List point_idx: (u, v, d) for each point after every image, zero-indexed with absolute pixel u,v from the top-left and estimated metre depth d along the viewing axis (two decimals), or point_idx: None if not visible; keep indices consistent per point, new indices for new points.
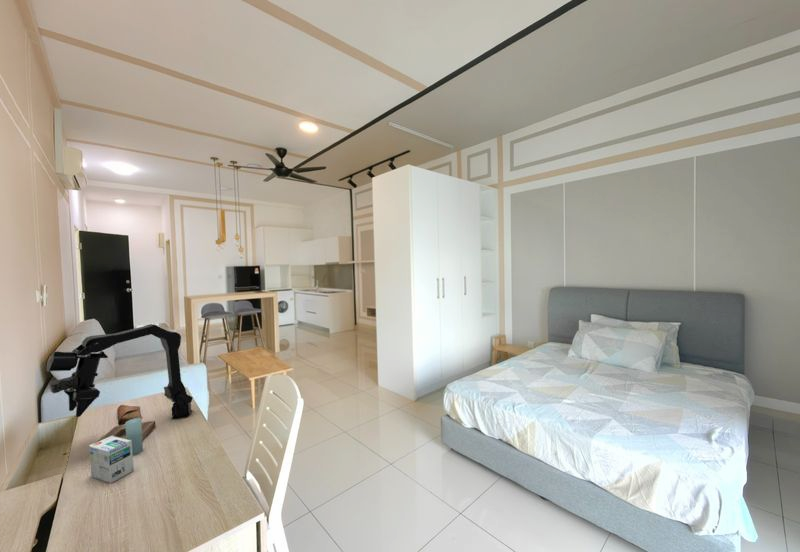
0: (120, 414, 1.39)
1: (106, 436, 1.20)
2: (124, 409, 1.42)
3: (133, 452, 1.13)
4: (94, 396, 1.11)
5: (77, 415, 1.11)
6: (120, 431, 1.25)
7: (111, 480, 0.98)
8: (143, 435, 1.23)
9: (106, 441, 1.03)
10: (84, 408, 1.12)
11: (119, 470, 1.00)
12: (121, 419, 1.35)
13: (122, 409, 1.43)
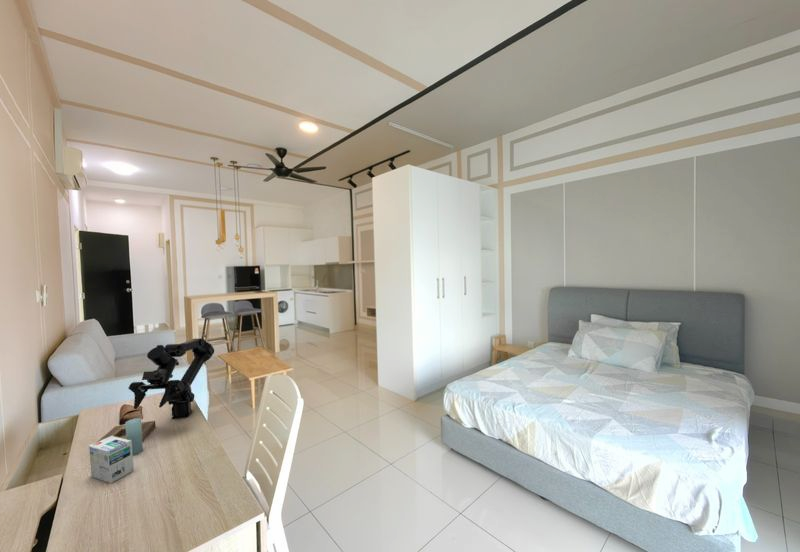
0: (121, 414, 1.39)
1: (106, 436, 1.20)
2: (126, 409, 1.43)
3: (133, 452, 1.13)
4: (182, 389, 1.29)
5: (161, 405, 1.22)
6: (120, 431, 1.25)
7: (111, 480, 0.98)
8: (143, 435, 1.23)
9: (106, 441, 1.03)
10: (167, 400, 1.25)
11: (119, 470, 1.00)
12: (122, 419, 1.36)
13: (124, 409, 1.43)
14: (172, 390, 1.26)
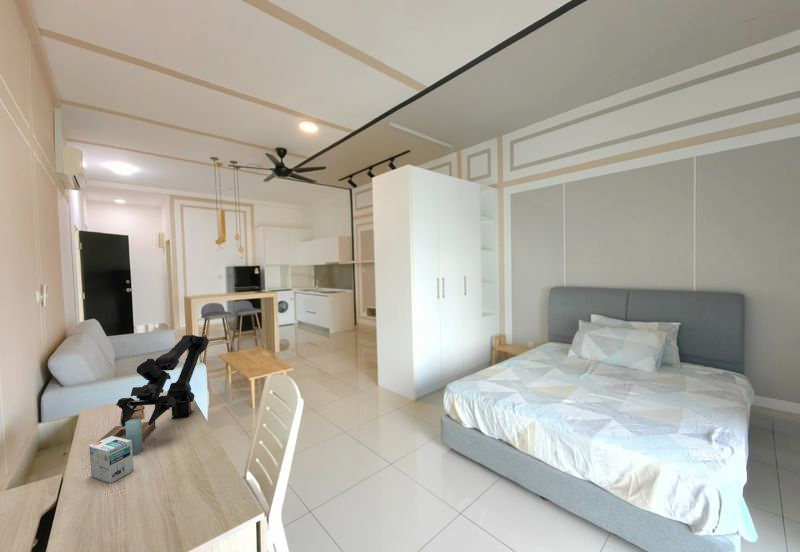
0: None
1: (106, 436, 1.20)
2: None
3: (133, 452, 1.13)
4: (173, 404, 1.23)
5: (150, 422, 1.16)
6: (120, 431, 1.25)
7: (111, 480, 0.98)
8: (143, 435, 1.23)
9: (106, 441, 1.03)
10: (157, 417, 1.18)
11: (119, 470, 1.00)
12: None
13: None
14: (162, 406, 1.20)
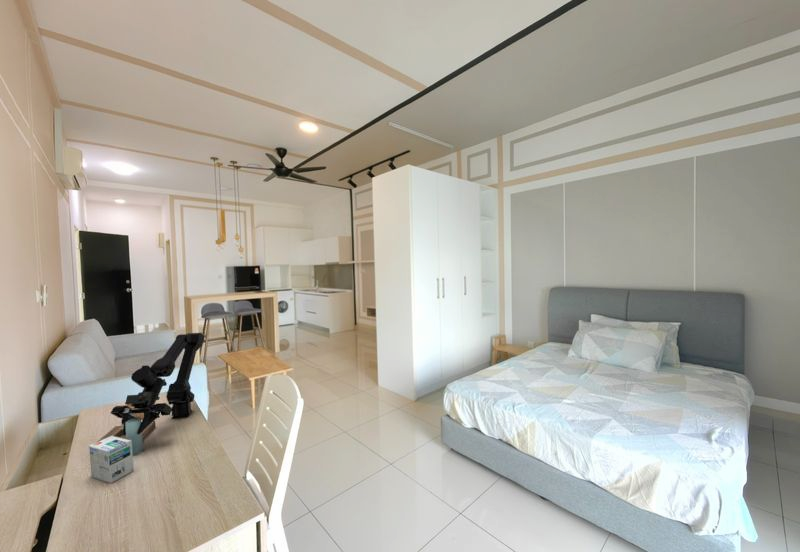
0: None
1: (106, 436, 1.20)
2: None
3: (133, 452, 1.13)
4: (169, 412, 1.20)
5: (139, 432, 1.13)
6: (120, 431, 1.25)
7: (111, 480, 0.98)
8: (143, 435, 1.23)
9: (106, 441, 1.03)
10: (146, 426, 1.16)
11: (119, 470, 1.00)
12: None
13: None
14: (152, 415, 1.17)
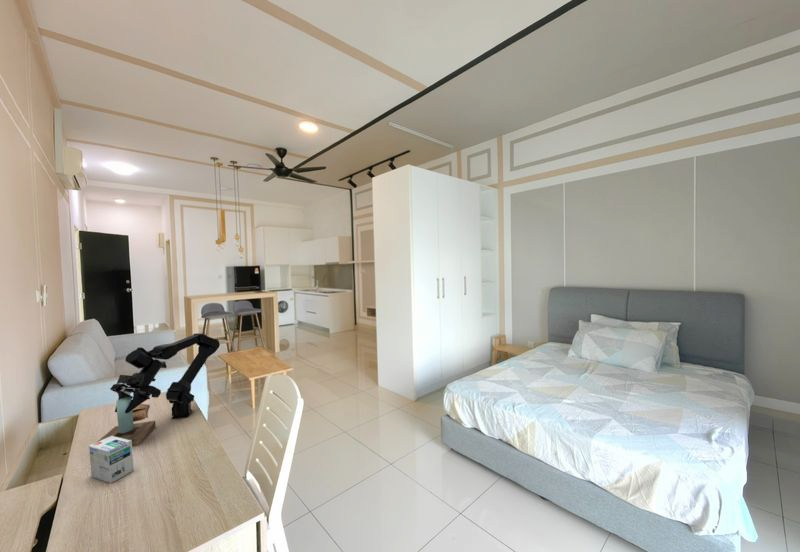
0: None
1: (106, 436, 1.20)
2: None
3: (122, 430, 1.17)
4: (157, 395, 1.22)
5: (127, 411, 1.17)
6: None
7: (111, 480, 0.98)
8: (143, 435, 1.23)
9: (106, 441, 1.03)
10: (135, 406, 1.20)
11: (119, 470, 1.00)
12: None
13: None
14: (141, 396, 1.21)
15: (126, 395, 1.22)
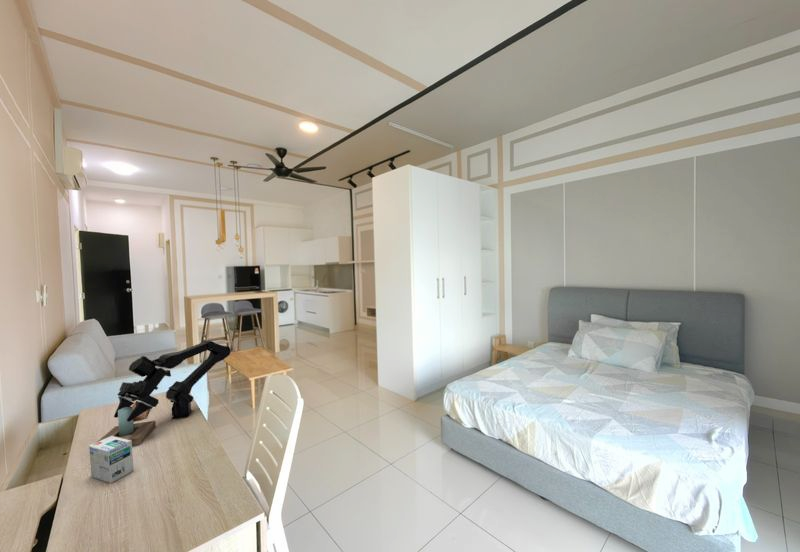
0: None
1: (106, 436, 1.20)
2: (134, 407, 1.44)
3: None
4: (154, 405, 1.24)
5: (128, 419, 1.20)
6: None
7: (111, 480, 0.98)
8: (143, 435, 1.23)
9: (106, 441, 1.03)
10: (137, 414, 1.22)
11: (119, 470, 1.00)
12: None
13: (133, 406, 1.45)
14: (143, 405, 1.23)
15: (126, 401, 1.28)
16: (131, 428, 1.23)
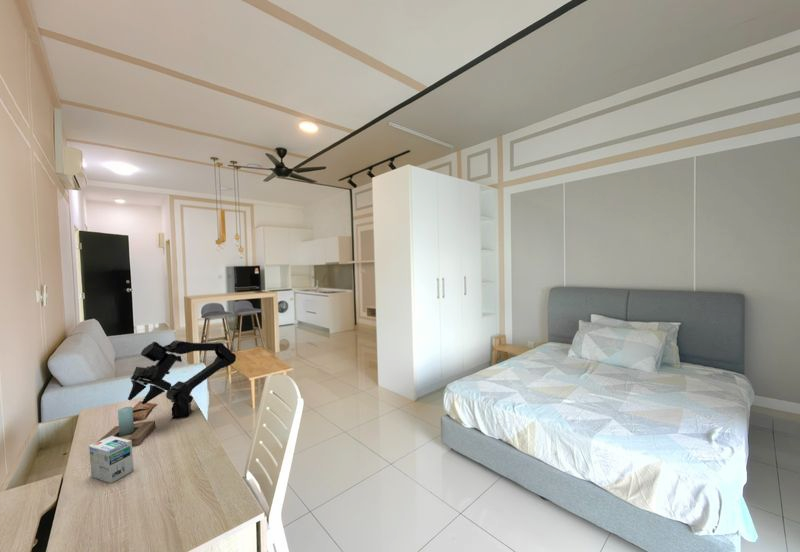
0: None
1: (106, 436, 1.20)
2: (136, 407, 1.45)
3: None
4: (167, 388, 1.29)
5: (143, 402, 1.25)
6: None
7: (111, 480, 0.98)
8: (143, 435, 1.23)
9: (106, 441, 1.03)
10: (151, 397, 1.27)
11: (119, 470, 1.00)
12: None
13: (135, 406, 1.45)
14: (157, 389, 1.28)
15: (139, 385, 1.32)
16: (131, 428, 1.23)
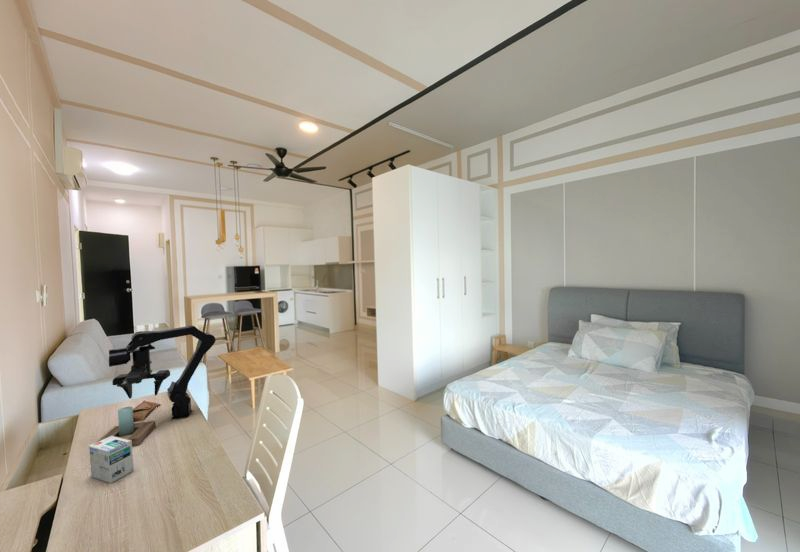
0: None
1: (106, 436, 1.20)
2: (137, 406, 1.45)
3: None
4: (169, 374, 1.37)
5: (156, 394, 1.34)
6: None
7: (111, 480, 0.98)
8: (143, 435, 1.23)
9: (106, 441, 1.03)
10: (159, 387, 1.36)
11: (119, 470, 1.00)
12: None
13: (137, 406, 1.46)
14: None
15: (128, 383, 1.31)
16: (131, 428, 1.23)
